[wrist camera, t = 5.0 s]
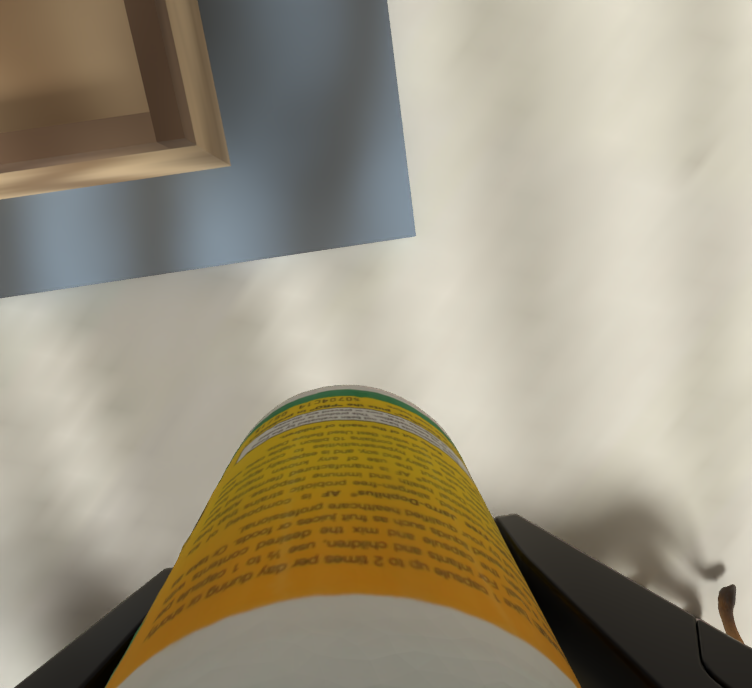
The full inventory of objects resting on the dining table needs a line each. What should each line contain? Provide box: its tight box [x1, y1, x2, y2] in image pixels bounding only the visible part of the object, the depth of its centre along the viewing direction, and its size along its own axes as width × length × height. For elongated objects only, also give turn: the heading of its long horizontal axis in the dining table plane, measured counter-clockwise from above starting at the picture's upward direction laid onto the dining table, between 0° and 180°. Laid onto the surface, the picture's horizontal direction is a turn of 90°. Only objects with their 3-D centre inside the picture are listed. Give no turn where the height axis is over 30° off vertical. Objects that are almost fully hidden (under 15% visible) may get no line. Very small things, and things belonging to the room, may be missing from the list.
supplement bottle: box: [105, 385, 581, 688], centre depth 6 cm, size 5×5×10 cm
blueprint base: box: [0, 0, 416, 298], centre depth 15 cm, size 18×14×6 cm
